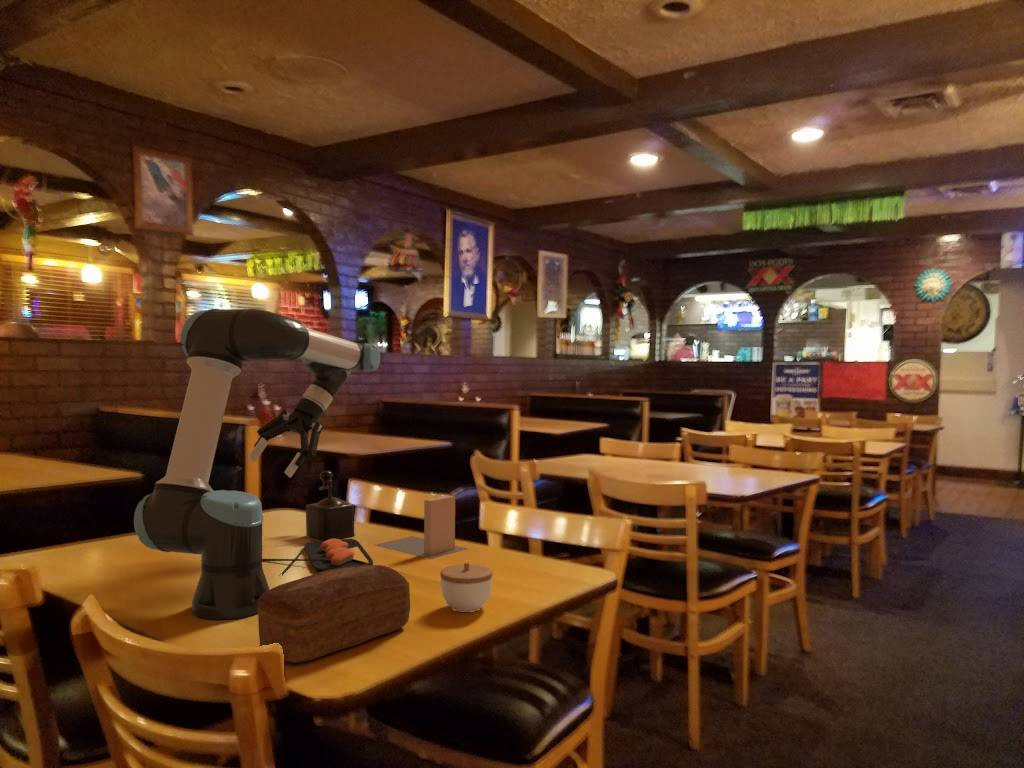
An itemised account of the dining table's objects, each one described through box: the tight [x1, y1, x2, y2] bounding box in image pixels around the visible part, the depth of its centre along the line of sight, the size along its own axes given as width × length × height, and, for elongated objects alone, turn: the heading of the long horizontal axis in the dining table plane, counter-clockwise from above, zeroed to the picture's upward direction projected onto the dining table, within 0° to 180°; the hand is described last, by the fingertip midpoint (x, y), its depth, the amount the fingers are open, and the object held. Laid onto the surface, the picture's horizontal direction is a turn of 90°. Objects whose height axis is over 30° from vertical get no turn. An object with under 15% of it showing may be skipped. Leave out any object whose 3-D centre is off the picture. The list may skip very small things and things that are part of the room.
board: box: [375, 535, 469, 560], centre depth 200 cm, size 22×14×1 cm, turn 51°
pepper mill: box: [305, 470, 355, 541], centre depth 217 cm, size 16×11×18 cm
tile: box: [423, 495, 456, 555], centre depth 195 cm, size 2×9×14 cm, turn 141°
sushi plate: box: [262, 538, 374, 576], centre depth 189 cm, size 29×30×4 cm
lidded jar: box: [440, 562, 494, 612], centre depth 152 cm, size 11×11×9 cm
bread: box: [257, 564, 411, 664], centre depth 134 cm, size 14×28×12 cm, turn 140°
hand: (269, 467), depth 200 cm, fingers open, 13 cm apart
